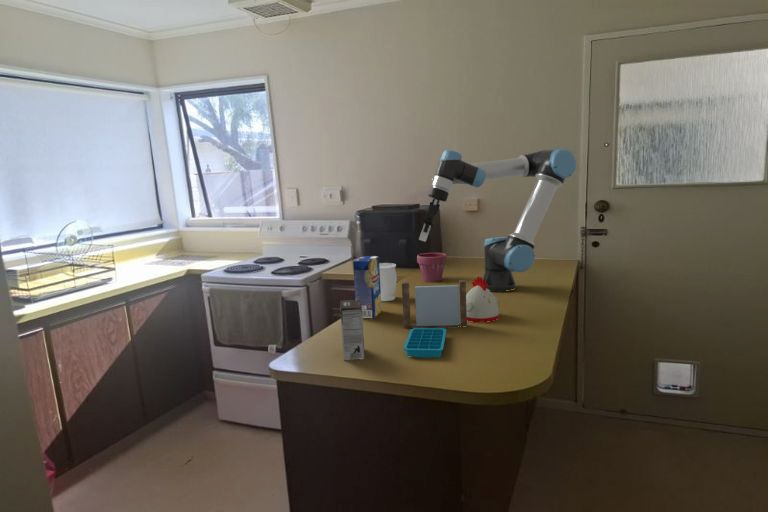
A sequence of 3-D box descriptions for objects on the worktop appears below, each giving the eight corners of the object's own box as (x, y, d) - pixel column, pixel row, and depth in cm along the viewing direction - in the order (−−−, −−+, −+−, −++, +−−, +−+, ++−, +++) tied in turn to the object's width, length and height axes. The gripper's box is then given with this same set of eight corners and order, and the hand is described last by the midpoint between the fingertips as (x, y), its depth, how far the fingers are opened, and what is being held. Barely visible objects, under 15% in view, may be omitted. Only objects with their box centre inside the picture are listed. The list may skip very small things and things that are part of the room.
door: (459, 322, 179) (458, 284, 177) (459, 325, 176) (458, 286, 174) (416, 323, 180) (415, 285, 178) (416, 326, 178) (415, 287, 175)
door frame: (465, 323, 179) (465, 279, 176) (467, 327, 175) (466, 282, 172) (403, 325, 180) (402, 281, 178) (403, 328, 177) (401, 284, 174)
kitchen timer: (476, 325, 177) (475, 283, 174) (453, 316, 189) (452, 276, 187) (507, 318, 183) (507, 277, 181) (483, 309, 195) (482, 271, 193)
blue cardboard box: (381, 310, 200) (379, 256, 197) (373, 319, 190) (370, 261, 186) (365, 310, 202) (362, 256, 198) (356, 318, 192) (352, 261, 188)
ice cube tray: (403, 359, 150) (403, 349, 149) (411, 336, 169) (411, 328, 169) (443, 359, 147) (442, 350, 147) (446, 337, 167) (446, 328, 167)
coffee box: (343, 350, 158) (340, 300, 156) (363, 348, 159) (361, 298, 156) (343, 361, 149) (340, 308, 147) (365, 359, 150) (362, 306, 147)
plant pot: (439, 275, 259) (438, 251, 257) (451, 281, 246) (451, 255, 244) (413, 279, 255) (412, 254, 253) (424, 284, 242) (423, 258, 239)
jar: (395, 302, 212) (393, 267, 209) (371, 302, 214) (369, 267, 212) (399, 296, 222) (398, 262, 220) (376, 296, 224) (374, 262, 222)
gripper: (430, 189, 211) (414, 238, 212) (431, 182, 186) (412, 237, 187) (448, 195, 210) (431, 243, 211) (450, 189, 185) (431, 243, 187)
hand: (422, 240), depth 199 cm, fingers open, 13 cm apart
